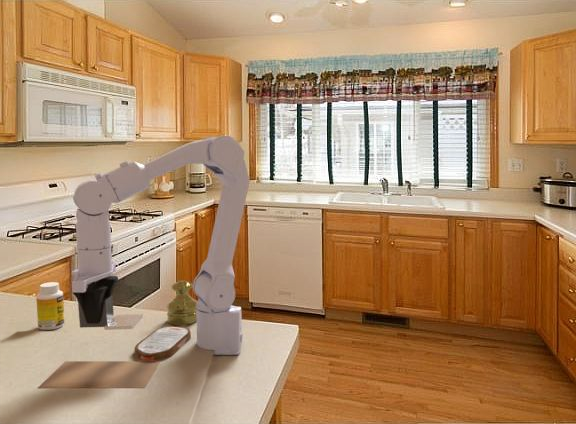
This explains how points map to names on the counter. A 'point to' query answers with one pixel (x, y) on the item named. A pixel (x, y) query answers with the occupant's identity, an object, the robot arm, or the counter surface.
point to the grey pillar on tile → (110, 317)
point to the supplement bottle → (50, 306)
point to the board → (101, 374)
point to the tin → (162, 343)
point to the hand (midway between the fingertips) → (97, 319)
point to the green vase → (182, 305)
